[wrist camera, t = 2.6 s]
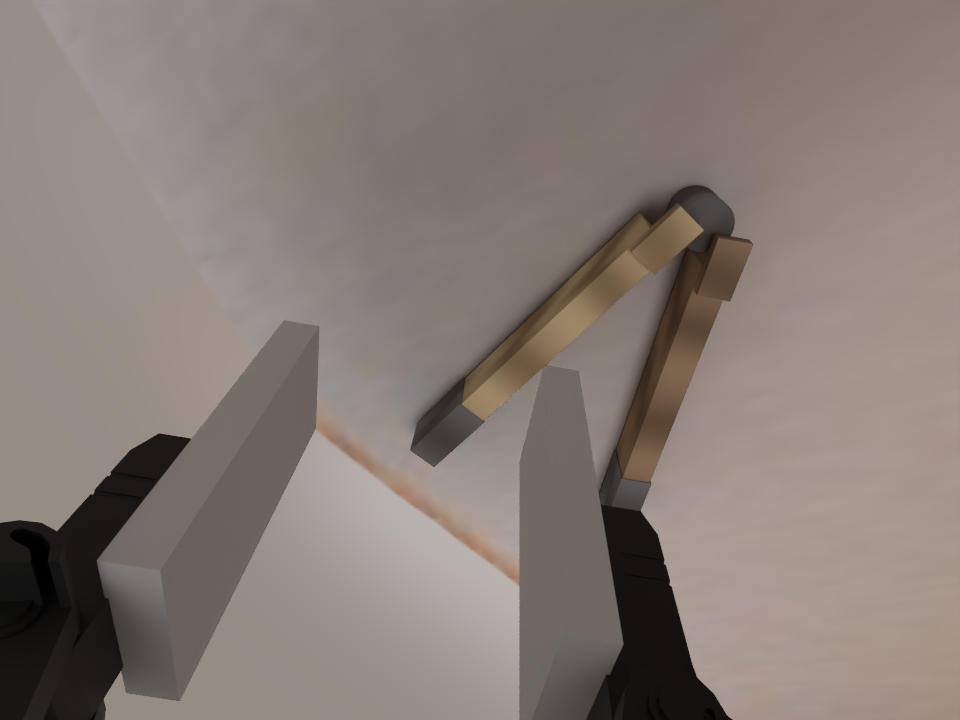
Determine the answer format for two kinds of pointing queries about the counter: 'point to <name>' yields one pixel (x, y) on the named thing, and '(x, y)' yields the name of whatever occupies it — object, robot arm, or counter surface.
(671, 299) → the base
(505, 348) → the tong arm
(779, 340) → the counter surface
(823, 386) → the counter surface
